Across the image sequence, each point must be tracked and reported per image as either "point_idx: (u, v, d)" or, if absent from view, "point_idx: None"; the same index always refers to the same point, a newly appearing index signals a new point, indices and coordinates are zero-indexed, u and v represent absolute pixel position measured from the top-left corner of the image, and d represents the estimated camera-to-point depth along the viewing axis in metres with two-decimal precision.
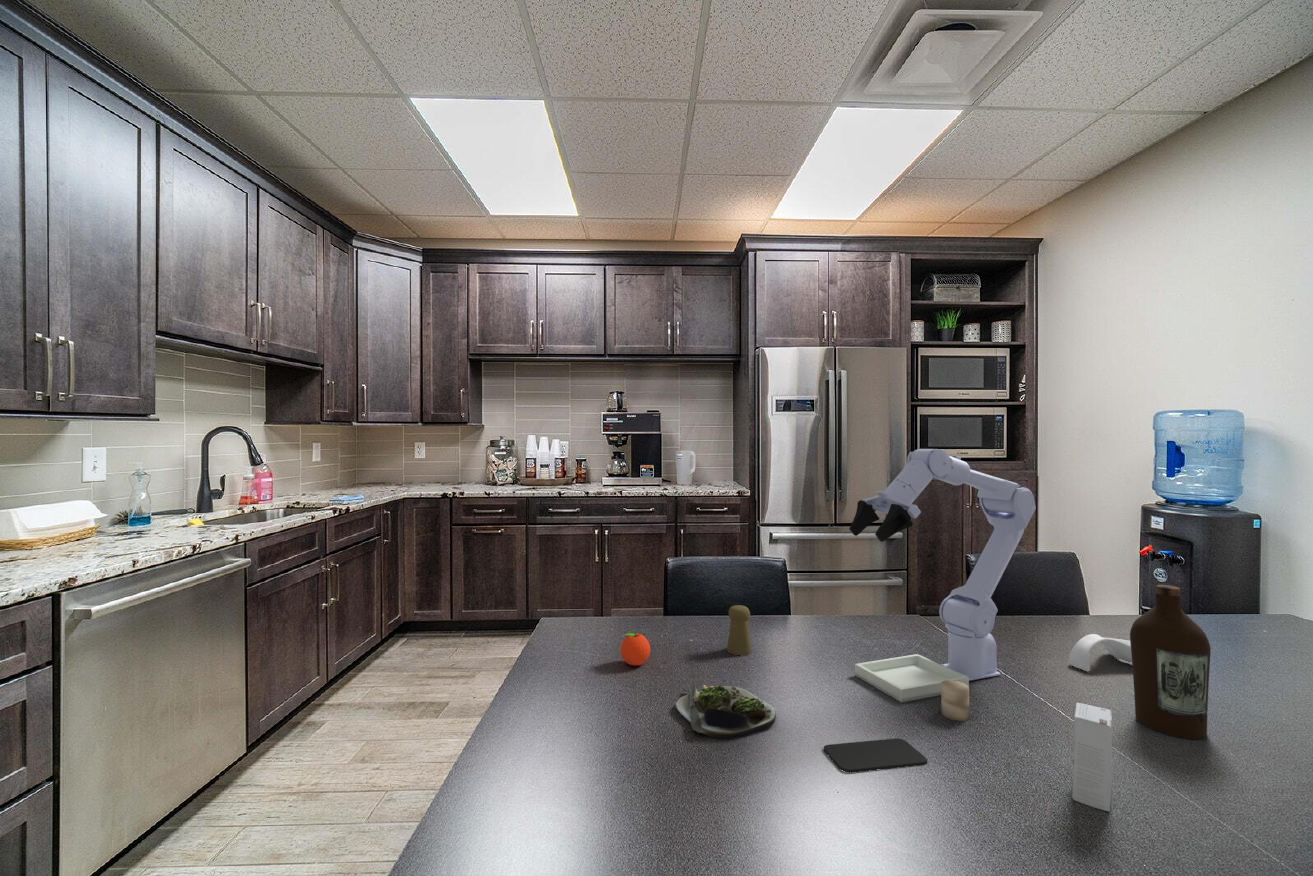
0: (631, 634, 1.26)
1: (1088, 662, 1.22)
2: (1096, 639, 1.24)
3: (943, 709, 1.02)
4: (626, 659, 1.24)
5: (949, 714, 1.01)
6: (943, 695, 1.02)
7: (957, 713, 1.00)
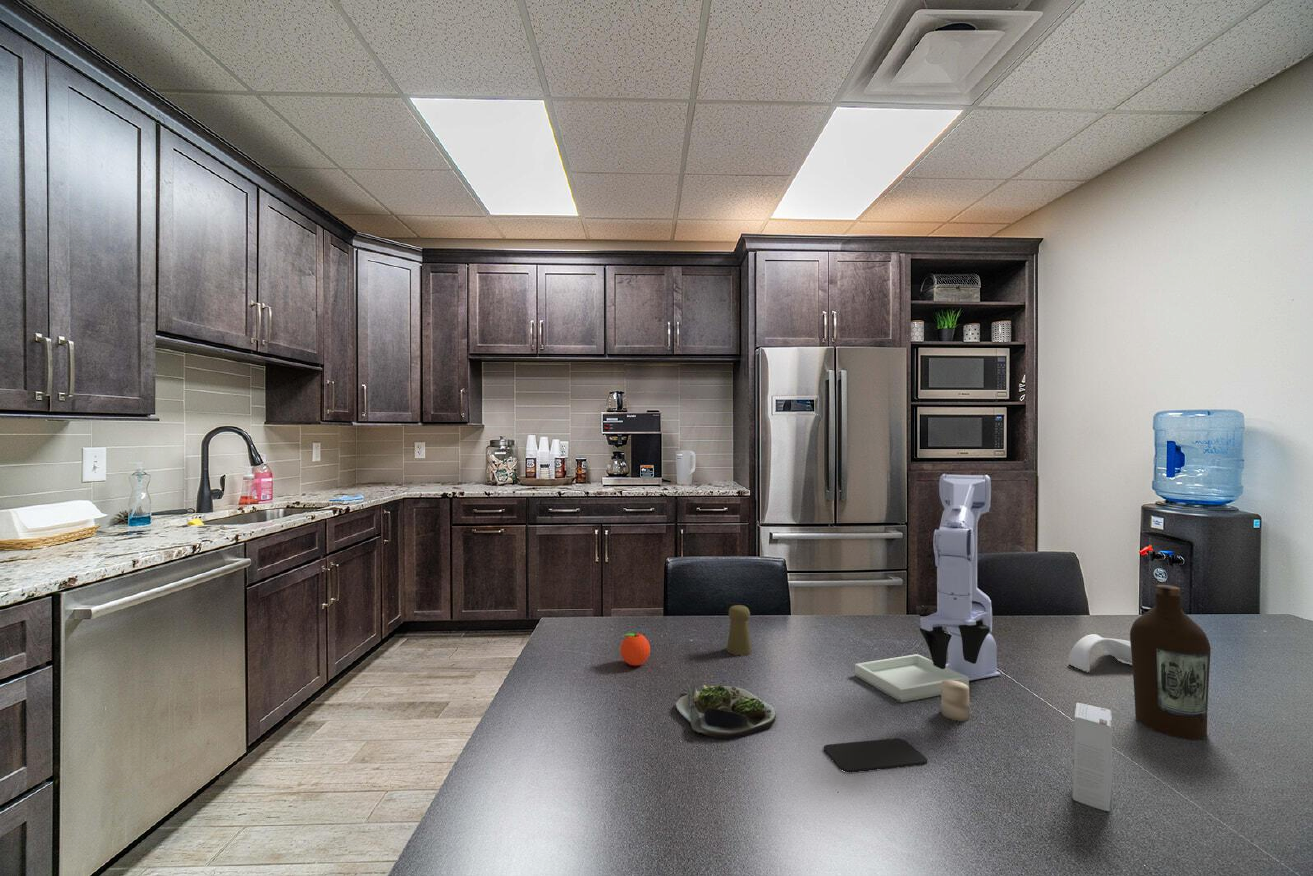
0: (631, 634, 1.27)
1: (1088, 662, 1.22)
2: (1096, 639, 1.24)
3: (943, 709, 1.02)
4: (626, 659, 1.24)
5: (949, 714, 1.01)
6: (943, 695, 1.02)
7: (957, 713, 1.00)
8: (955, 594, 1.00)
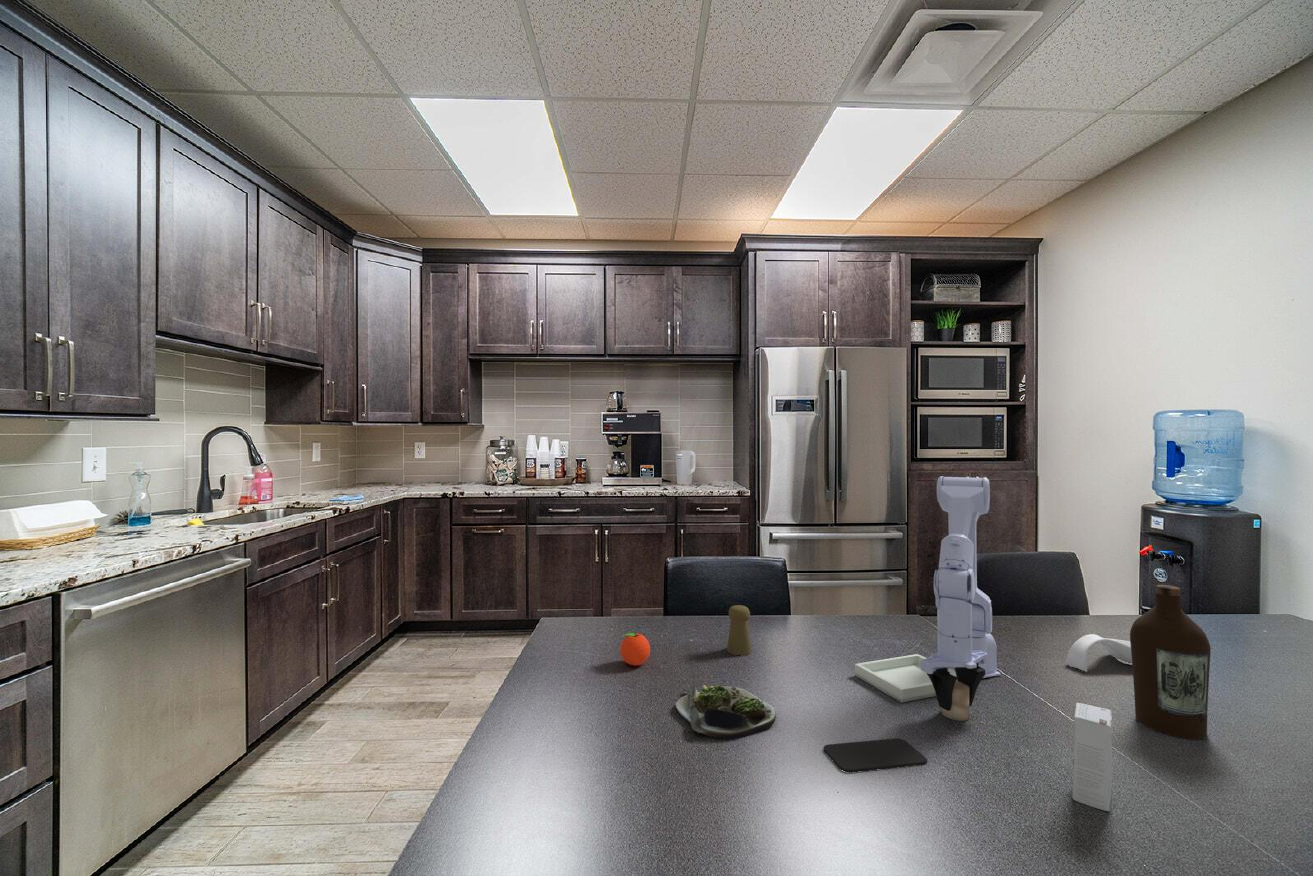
0: (631, 634, 1.26)
1: (1085, 662, 1.22)
2: (1094, 639, 1.24)
3: (943, 709, 1.02)
4: (626, 659, 1.24)
5: (949, 714, 1.01)
6: None
7: (957, 713, 1.00)
8: (955, 637, 1.00)
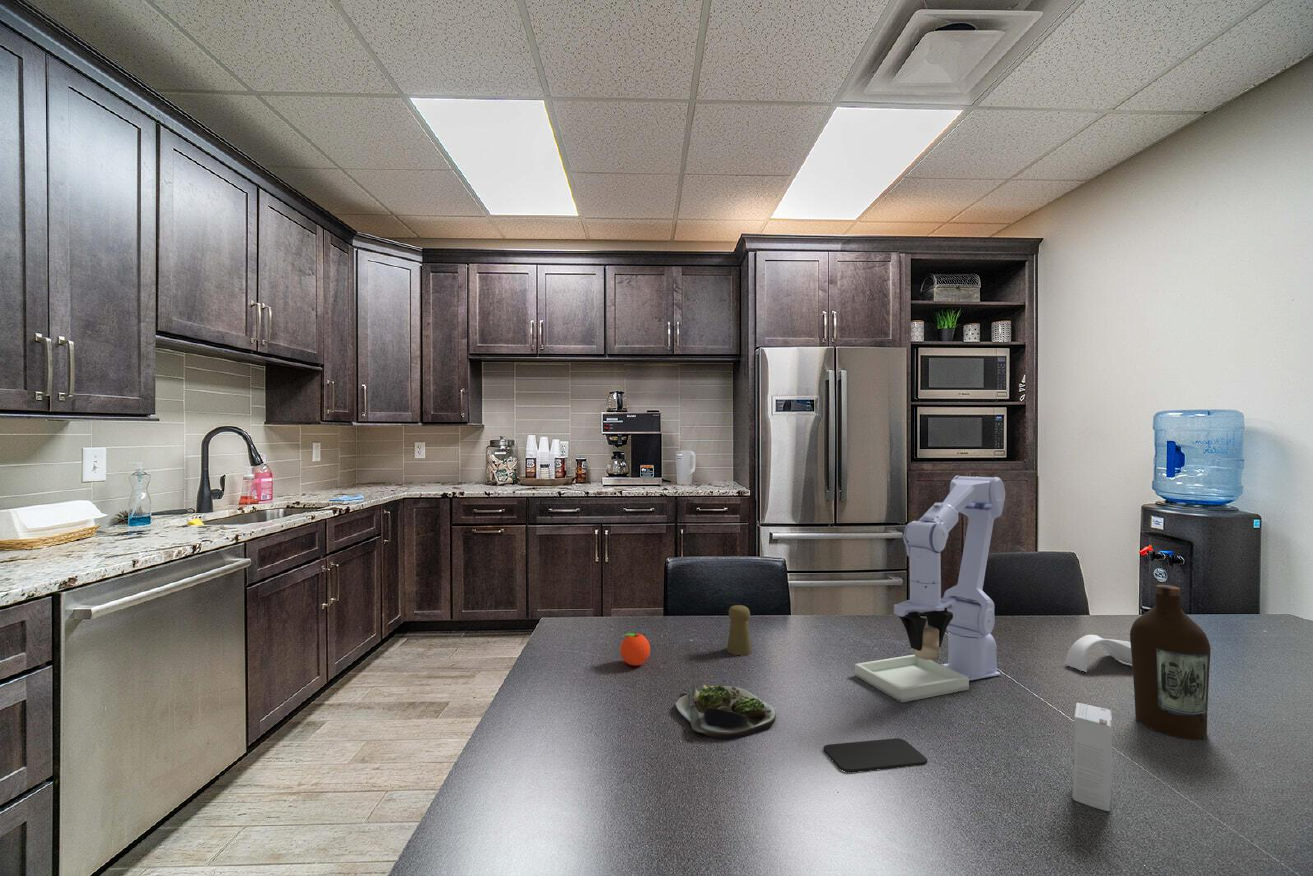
0: (631, 634, 1.27)
1: (1085, 662, 1.22)
2: (1094, 640, 1.24)
3: (915, 650, 1.11)
4: (626, 659, 1.24)
5: (920, 654, 1.10)
6: None
7: (927, 653, 1.09)
8: (925, 582, 1.09)
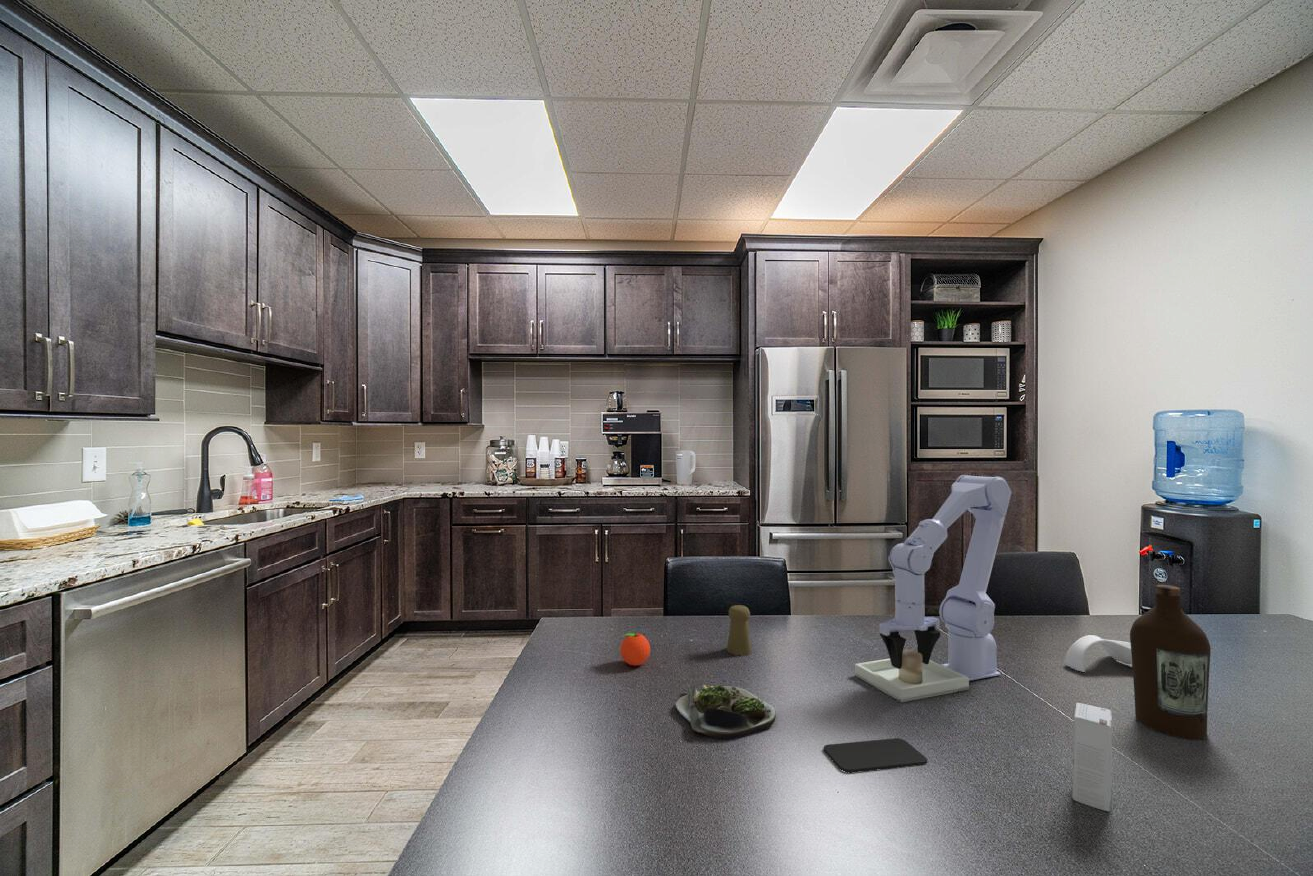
0: (631, 634, 1.26)
1: (1083, 663, 1.21)
2: (1093, 640, 1.24)
3: (899, 674, 1.16)
4: (626, 659, 1.24)
5: (904, 678, 1.15)
6: None
7: (911, 678, 1.14)
8: (909, 603, 1.14)
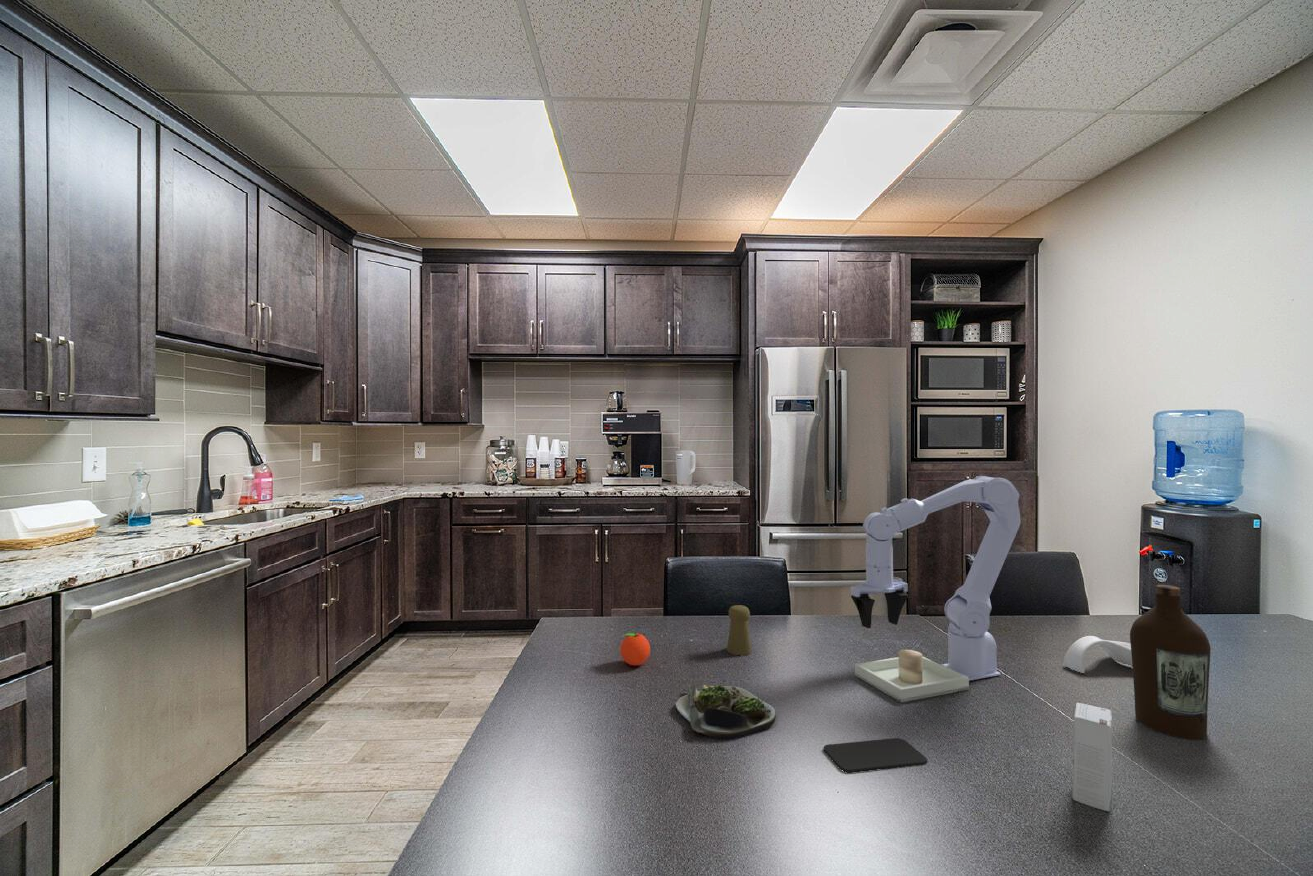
0: (631, 634, 1.26)
1: (1082, 664, 1.21)
2: (1092, 641, 1.23)
3: (900, 674, 1.16)
4: (626, 659, 1.24)
5: (904, 678, 1.15)
6: (900, 662, 1.16)
7: (911, 677, 1.14)
8: (878, 567, 1.23)
